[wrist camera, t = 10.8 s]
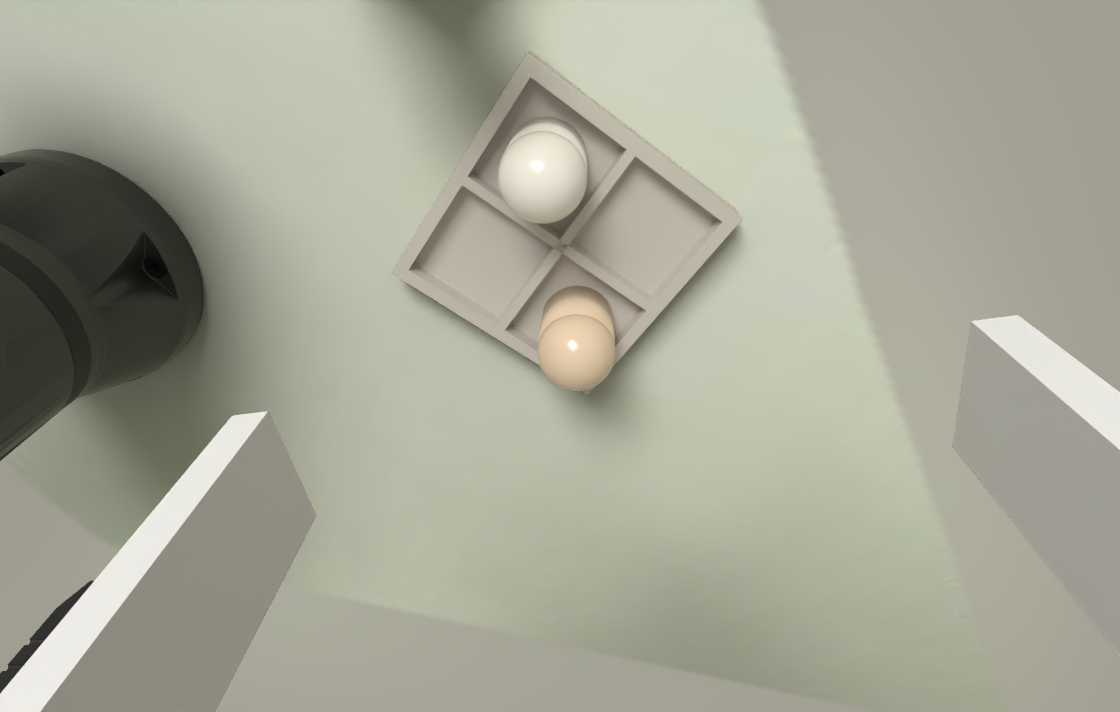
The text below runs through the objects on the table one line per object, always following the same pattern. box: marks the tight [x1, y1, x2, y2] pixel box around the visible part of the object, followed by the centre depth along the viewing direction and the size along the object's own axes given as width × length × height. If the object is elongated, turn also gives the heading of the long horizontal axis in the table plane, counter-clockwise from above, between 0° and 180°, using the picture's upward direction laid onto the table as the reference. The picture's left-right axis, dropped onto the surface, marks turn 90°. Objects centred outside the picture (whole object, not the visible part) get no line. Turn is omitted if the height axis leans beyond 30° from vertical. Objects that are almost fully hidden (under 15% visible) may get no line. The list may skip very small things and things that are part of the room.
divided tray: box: [391, 51, 742, 395], centre depth 40 cm, size 15×15×2 cm
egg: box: [538, 286, 616, 391], centre depth 40 cm, size 5×5×7 cm
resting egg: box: [498, 116, 587, 224], centre depth 35 cm, size 5×5×7 cm
